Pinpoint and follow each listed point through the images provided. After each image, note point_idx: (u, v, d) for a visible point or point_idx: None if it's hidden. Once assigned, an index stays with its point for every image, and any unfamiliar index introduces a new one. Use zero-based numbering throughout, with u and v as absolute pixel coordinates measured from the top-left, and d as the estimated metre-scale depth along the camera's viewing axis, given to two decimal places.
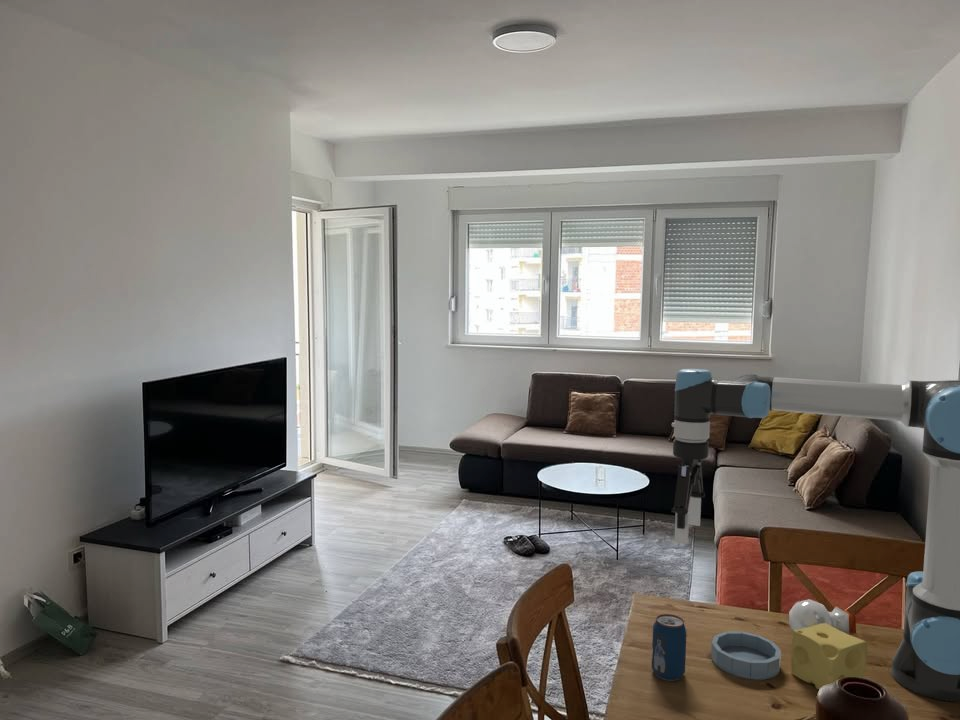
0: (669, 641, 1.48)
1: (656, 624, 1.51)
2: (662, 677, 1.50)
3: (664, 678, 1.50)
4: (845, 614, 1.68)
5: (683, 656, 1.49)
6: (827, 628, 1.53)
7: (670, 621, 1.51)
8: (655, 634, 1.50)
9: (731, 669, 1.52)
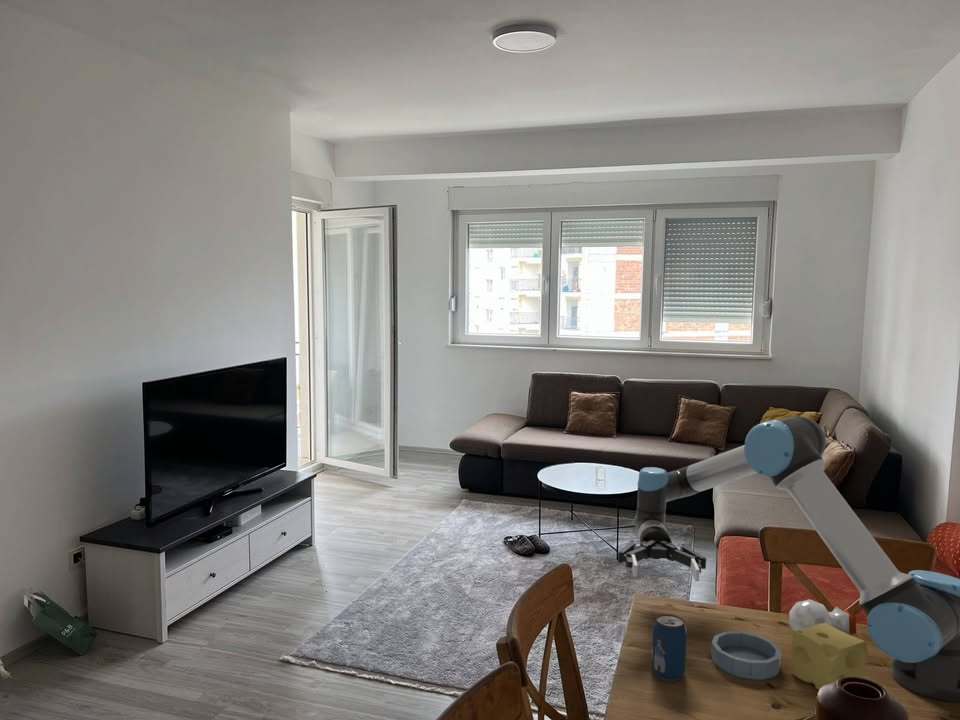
0: (669, 641, 1.48)
1: (656, 624, 1.51)
2: (662, 677, 1.50)
3: (664, 678, 1.50)
4: (845, 614, 1.68)
5: (683, 656, 1.49)
6: (827, 628, 1.53)
7: (670, 621, 1.51)
8: (655, 634, 1.50)
9: (731, 669, 1.52)
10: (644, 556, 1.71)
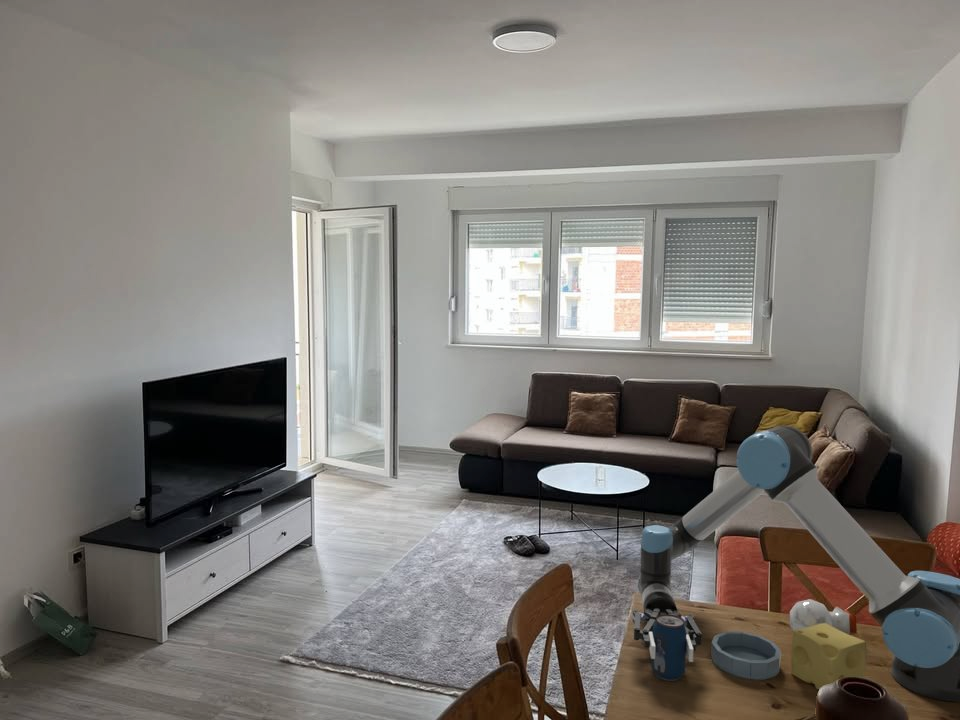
0: (669, 641, 1.48)
1: (656, 624, 1.51)
2: (662, 677, 1.50)
3: (664, 678, 1.50)
4: (846, 614, 1.68)
5: (683, 656, 1.49)
6: (827, 628, 1.53)
7: (670, 621, 1.51)
8: (655, 633, 1.50)
9: (731, 669, 1.52)
10: None
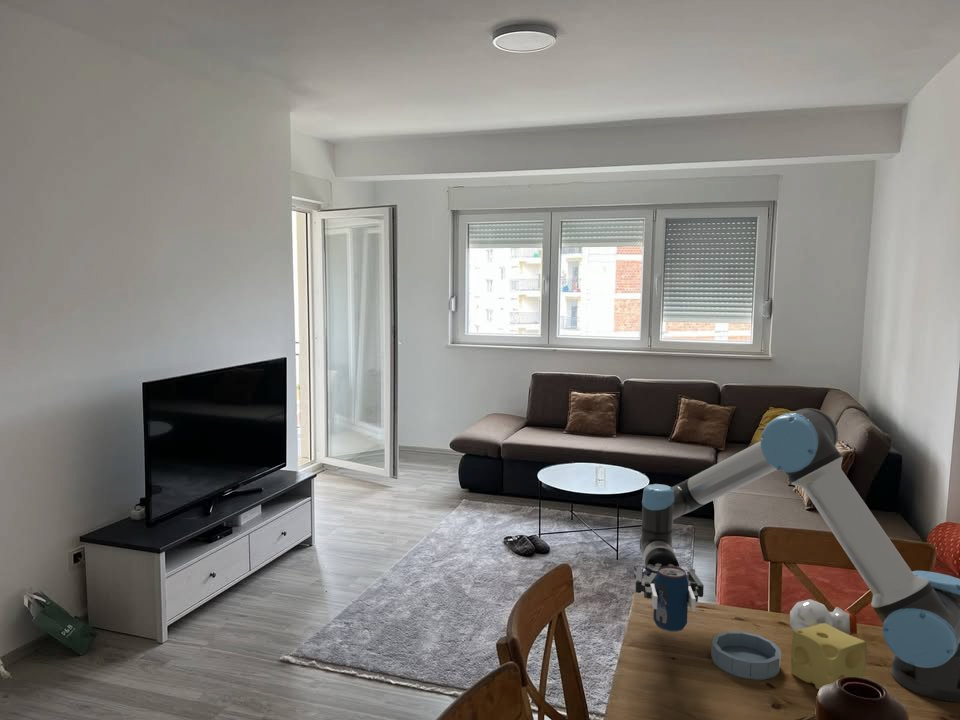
0: (670, 591, 1.47)
1: (658, 575, 1.50)
2: (664, 628, 1.49)
3: (666, 629, 1.49)
4: (846, 614, 1.68)
5: (685, 607, 1.48)
6: (827, 628, 1.53)
7: (672, 572, 1.50)
8: (657, 584, 1.49)
9: (731, 669, 1.52)
10: None
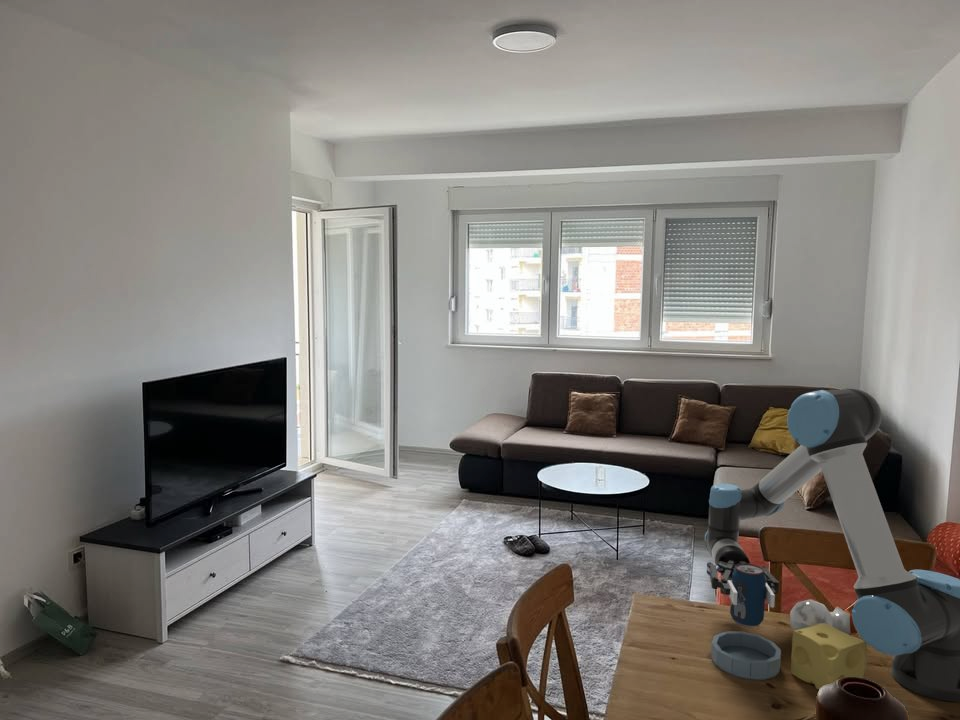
0: (749, 588, 1.52)
1: (736, 572, 1.55)
2: (742, 623, 1.54)
3: (744, 624, 1.54)
4: (846, 614, 1.68)
5: (763, 603, 1.54)
6: (827, 628, 1.53)
7: (750, 569, 1.55)
8: (736, 581, 1.54)
9: (731, 669, 1.52)
10: (730, 579, 1.63)
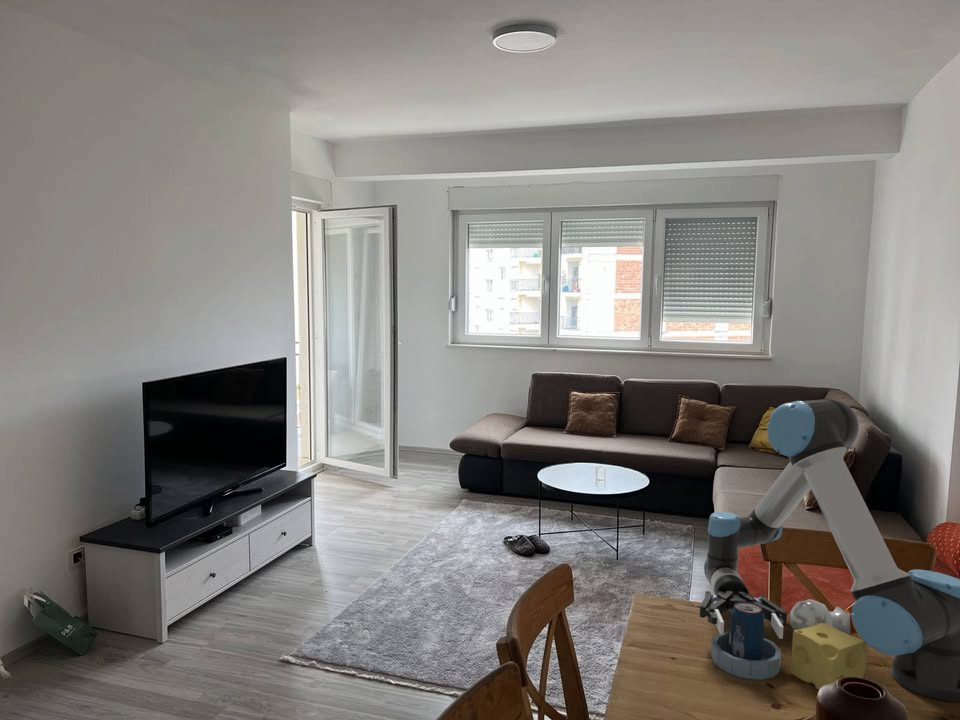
0: (748, 627, 1.53)
1: (734, 611, 1.56)
2: None
3: None
4: (846, 614, 1.68)
5: (761, 641, 1.54)
6: (827, 628, 1.53)
7: (748, 608, 1.56)
8: (734, 620, 1.55)
9: (731, 669, 1.52)
10: (724, 609, 1.65)
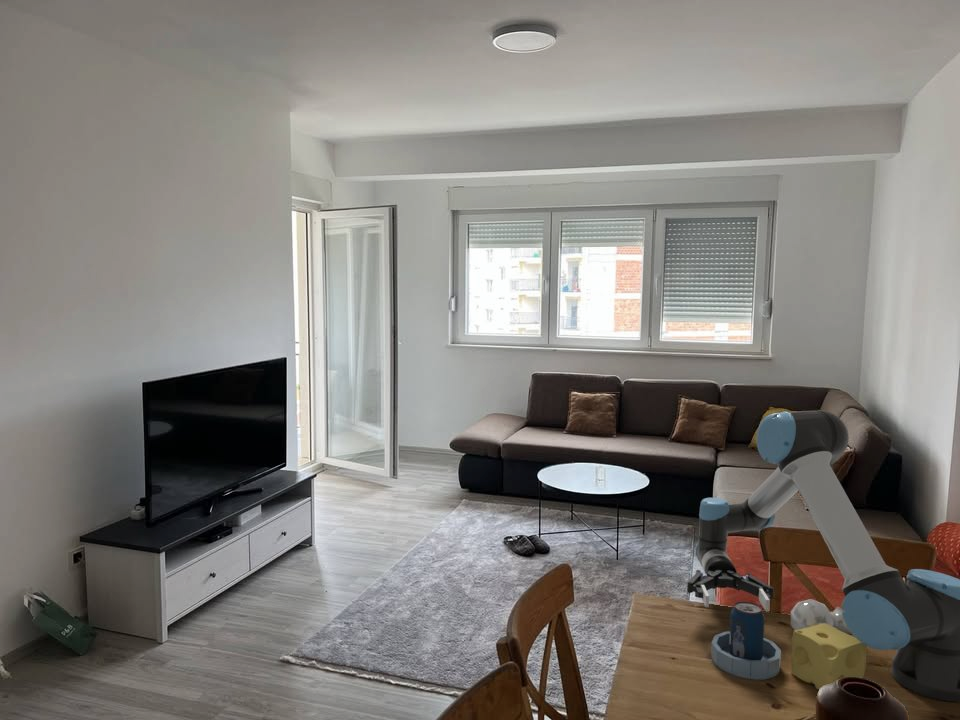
0: (748, 627, 1.53)
1: (734, 611, 1.56)
2: None
3: None
4: None
5: (761, 641, 1.54)
6: (827, 628, 1.53)
7: (748, 608, 1.56)
8: (734, 620, 1.55)
9: (731, 669, 1.52)
10: (712, 586, 1.77)
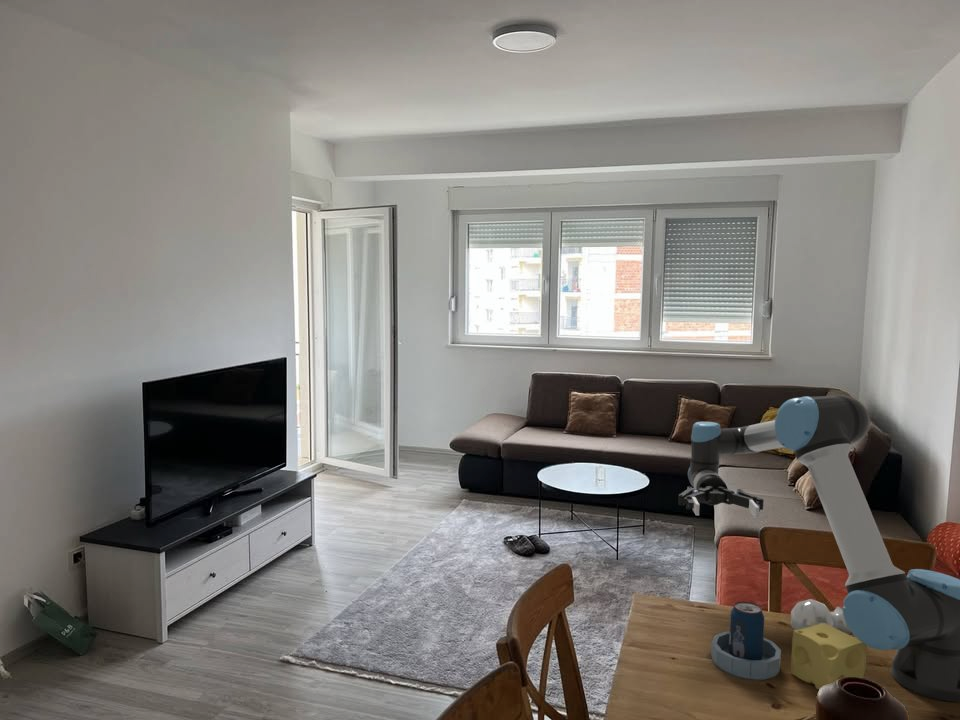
0: (748, 627, 1.53)
1: (734, 611, 1.56)
2: None
3: None
4: None
5: (761, 641, 1.54)
6: (827, 628, 1.53)
7: (748, 608, 1.56)
8: (734, 620, 1.55)
9: (731, 669, 1.52)
10: (703, 500, 1.80)
